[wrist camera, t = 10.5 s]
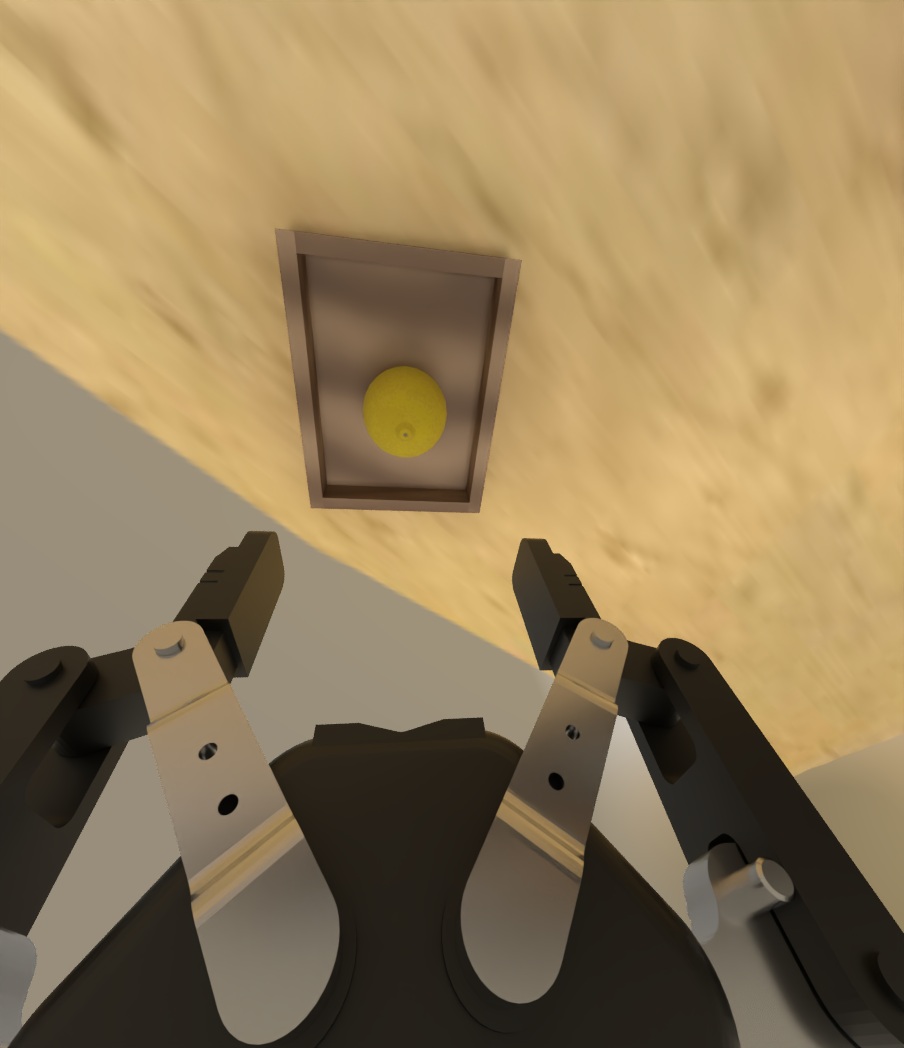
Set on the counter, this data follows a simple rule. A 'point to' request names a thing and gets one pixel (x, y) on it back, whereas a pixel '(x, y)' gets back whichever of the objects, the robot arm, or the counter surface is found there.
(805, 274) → the counter surface
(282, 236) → the tray
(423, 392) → the lemon
